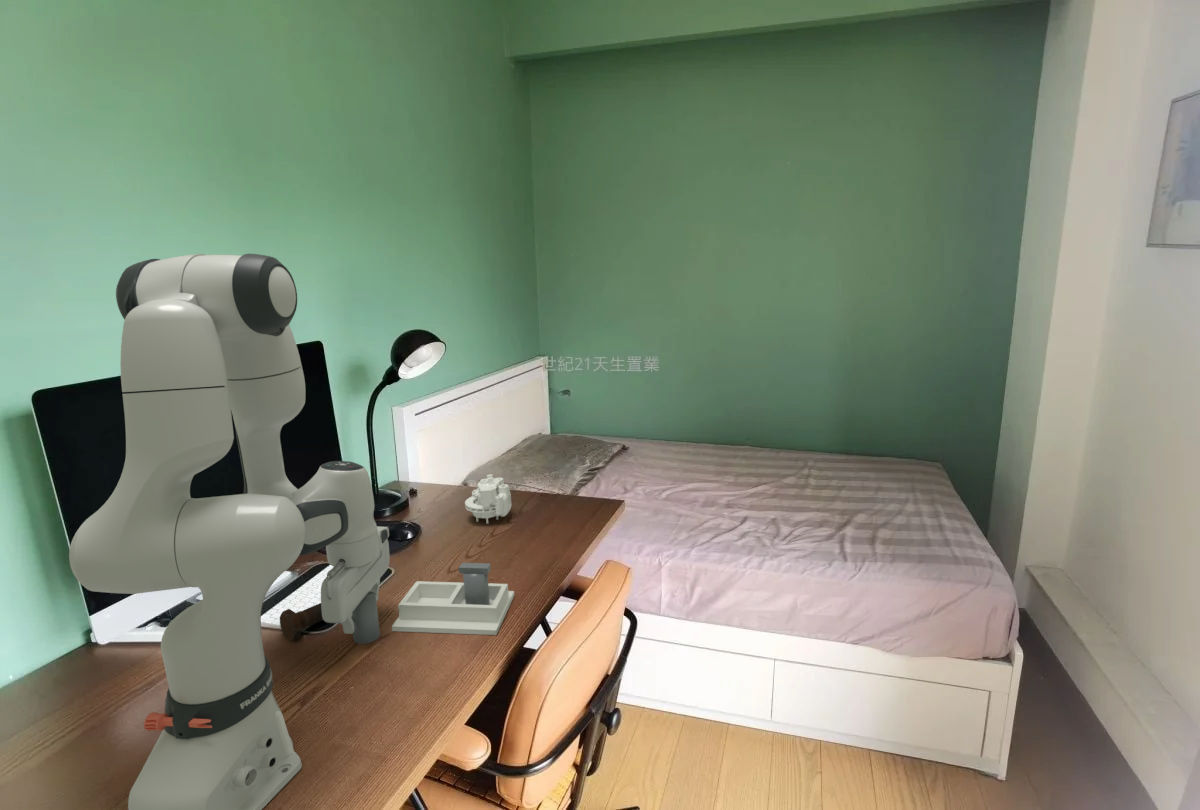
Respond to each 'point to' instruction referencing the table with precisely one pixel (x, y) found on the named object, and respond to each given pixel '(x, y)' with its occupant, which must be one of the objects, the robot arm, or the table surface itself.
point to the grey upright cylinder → (366, 620)
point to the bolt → (299, 621)
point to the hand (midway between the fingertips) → (362, 616)
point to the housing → (456, 604)
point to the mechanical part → (490, 499)
